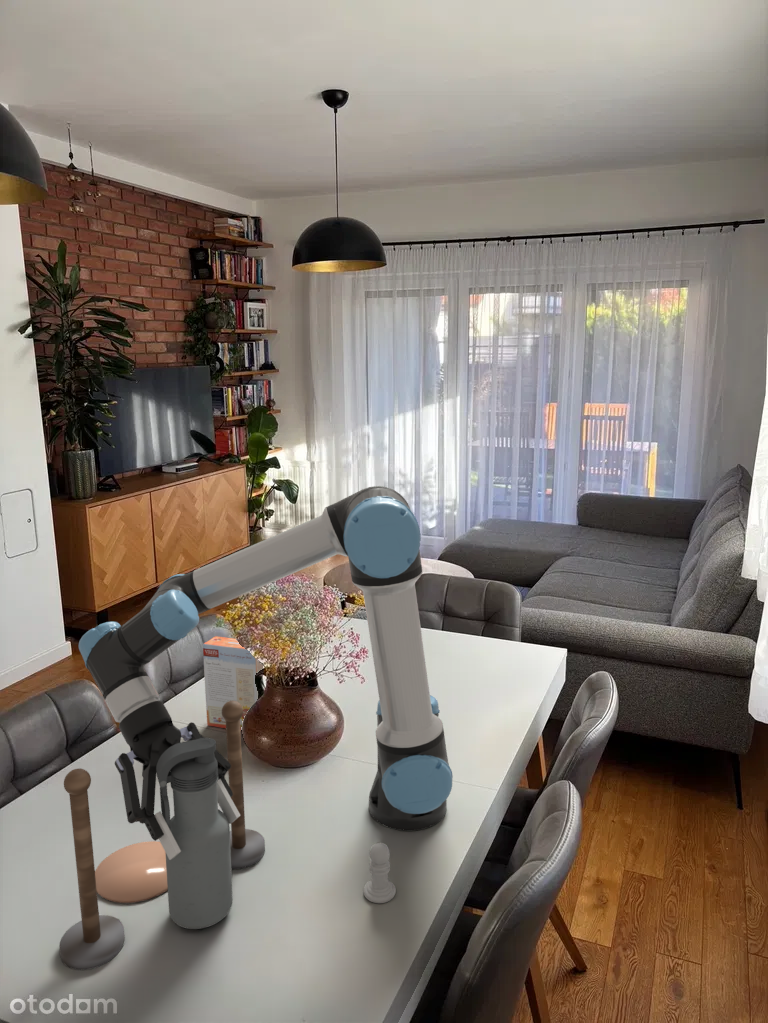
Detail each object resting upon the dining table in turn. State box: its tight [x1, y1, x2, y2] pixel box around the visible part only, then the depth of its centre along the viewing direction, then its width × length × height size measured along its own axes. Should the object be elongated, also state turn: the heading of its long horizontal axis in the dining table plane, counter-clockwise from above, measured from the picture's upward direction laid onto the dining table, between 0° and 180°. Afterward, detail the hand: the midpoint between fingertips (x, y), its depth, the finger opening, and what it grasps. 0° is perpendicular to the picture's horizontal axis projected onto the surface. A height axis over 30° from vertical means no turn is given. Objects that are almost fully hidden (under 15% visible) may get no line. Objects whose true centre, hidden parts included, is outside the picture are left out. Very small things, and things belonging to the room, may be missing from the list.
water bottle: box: [156, 737, 234, 930], centre depth 116 cm, size 10×10×28 cm
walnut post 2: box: [222, 701, 266, 870], centre depth 131 cm, size 9×9×29 cm
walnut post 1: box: [59, 768, 126, 971], centre depth 110 cm, size 9×9×29 cm
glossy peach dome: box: [95, 840, 168, 904], centre depth 129 cm, size 15×15×1 cm
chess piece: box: [362, 842, 397, 904], centre depth 123 cm, size 5×5×9 cm
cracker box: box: [202, 635, 263, 730], centre depth 179 cm, size 14×6×21 cm, turn 71°
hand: (206, 837), depth 114 cm, fingers closed on water bottle, 10 cm apart
